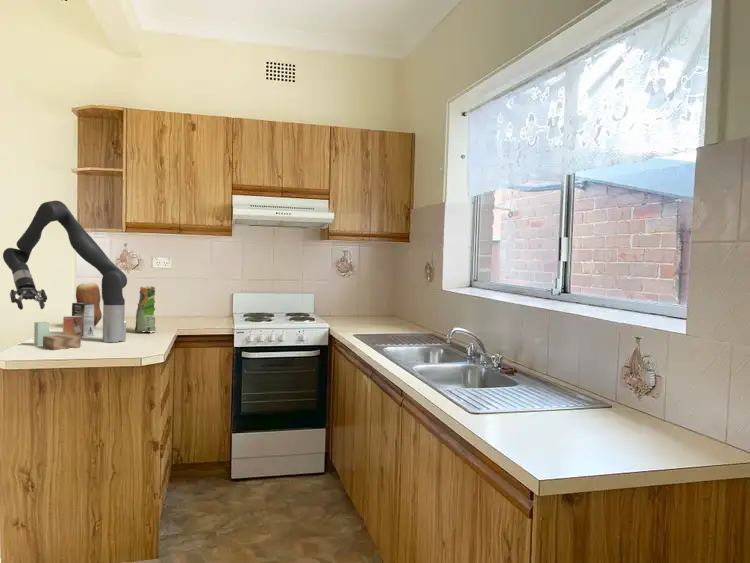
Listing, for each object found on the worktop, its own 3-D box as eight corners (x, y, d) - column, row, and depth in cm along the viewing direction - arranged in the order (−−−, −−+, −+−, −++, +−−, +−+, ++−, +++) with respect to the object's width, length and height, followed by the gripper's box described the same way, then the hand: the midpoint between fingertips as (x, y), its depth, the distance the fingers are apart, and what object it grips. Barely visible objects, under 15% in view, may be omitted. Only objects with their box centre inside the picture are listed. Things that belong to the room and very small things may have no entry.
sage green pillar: (45, 344, 261) (45, 321, 261) (48, 345, 258) (49, 322, 258) (34, 344, 258) (34, 322, 257) (37, 346, 255) (38, 323, 254)
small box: (62, 339, 278) (63, 316, 278) (62, 337, 283) (63, 315, 283) (81, 338, 282) (82, 316, 282) (81, 337, 287) (81, 315, 287)
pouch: (153, 331, 318) (154, 285, 318) (159, 333, 309) (160, 286, 308) (131, 331, 312) (132, 285, 311) (137, 334, 302) (138, 286, 301)
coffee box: (70, 334, 293) (71, 302, 292) (81, 333, 299) (82, 302, 298) (83, 336, 289) (83, 303, 289) (94, 335, 295) (95, 303, 294)
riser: (69, 345, 261) (69, 334, 260) (80, 348, 254) (80, 337, 253) (42, 347, 252) (43, 336, 252) (53, 350, 245) (53, 339, 245)
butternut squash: (71, 327, 321) (72, 282, 320) (97, 326, 330) (98, 282, 329) (78, 330, 311) (79, 283, 310) (105, 329, 319) (106, 283, 319)
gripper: (8, 276, 265) (16, 303, 258) (42, 276, 276) (51, 302, 269) (4, 287, 269) (12, 314, 262) (38, 287, 280) (47, 313, 272)
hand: (32, 308), depth 265 cm, fingers open, 8 cm apart
